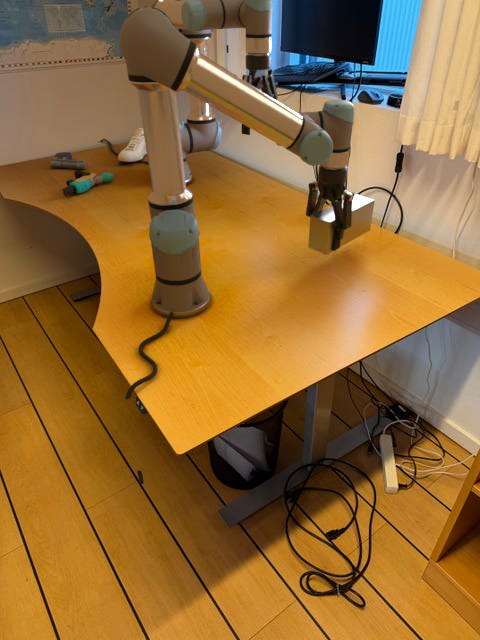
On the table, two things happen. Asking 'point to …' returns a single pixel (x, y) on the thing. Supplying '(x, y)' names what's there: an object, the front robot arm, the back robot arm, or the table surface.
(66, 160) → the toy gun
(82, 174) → the toy gun
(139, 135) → the sneaker
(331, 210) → the box
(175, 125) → the front robot arm
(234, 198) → the table surface
